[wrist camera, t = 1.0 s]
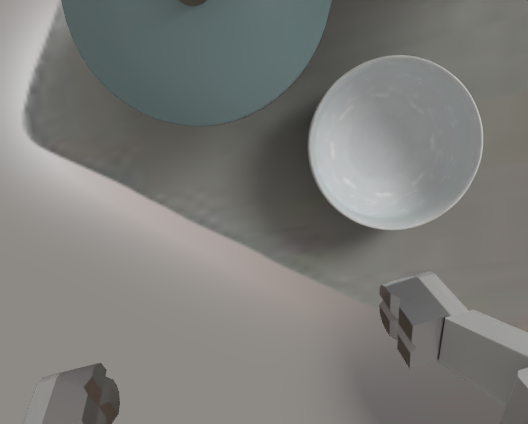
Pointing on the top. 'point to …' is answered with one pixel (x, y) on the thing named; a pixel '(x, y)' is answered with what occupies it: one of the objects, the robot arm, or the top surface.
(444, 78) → the cereal bowl
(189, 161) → the top surface
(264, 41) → the cover
